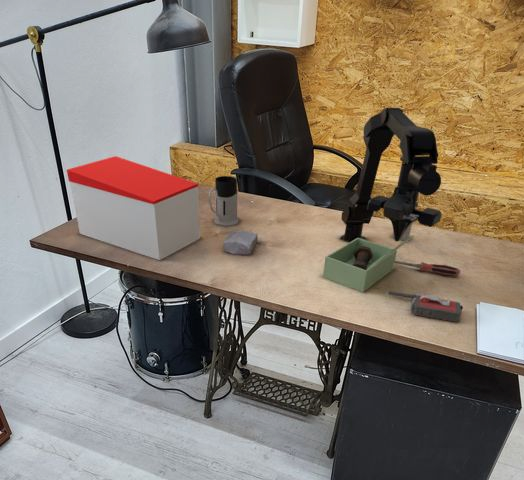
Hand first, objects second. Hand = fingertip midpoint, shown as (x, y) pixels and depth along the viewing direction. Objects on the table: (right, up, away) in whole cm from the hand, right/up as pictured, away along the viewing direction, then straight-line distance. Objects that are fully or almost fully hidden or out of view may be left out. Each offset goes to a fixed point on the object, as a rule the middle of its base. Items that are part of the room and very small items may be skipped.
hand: (397, 240), depth 130 cm
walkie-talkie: (+6, -19, -3) cm, 20 cm away
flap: (-1, -2, +3) cm, 4 cm away
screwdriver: (+11, -5, +16) cm, 20 cm away
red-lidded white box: (-79, +8, +29) cm, 84 cm away
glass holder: (-52, +16, +41) cm, 68 cm away
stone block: (-45, +4, +25) cm, 51 cm away
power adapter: (+11, +9, +36) cm, 39 cm away
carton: (-8, -7, +13) cm, 17 cm away
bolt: (-8, -6, +13) cm, 16 cm away
